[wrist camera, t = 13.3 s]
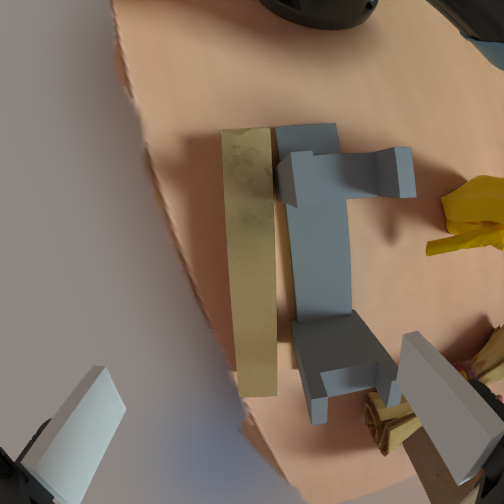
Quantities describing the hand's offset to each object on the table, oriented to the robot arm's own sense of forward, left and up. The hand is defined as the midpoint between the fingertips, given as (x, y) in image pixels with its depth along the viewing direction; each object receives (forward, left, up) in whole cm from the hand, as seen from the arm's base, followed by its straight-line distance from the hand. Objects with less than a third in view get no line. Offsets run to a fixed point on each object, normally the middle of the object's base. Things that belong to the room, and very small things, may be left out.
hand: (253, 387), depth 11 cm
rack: (0, +7, -19) cm, 20 cm away
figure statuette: (-4, +26, -19) cm, 32 cm away
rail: (0, 0, -19) cm, 19 cm away
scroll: (+20, +25, -19) cm, 38 cm away
